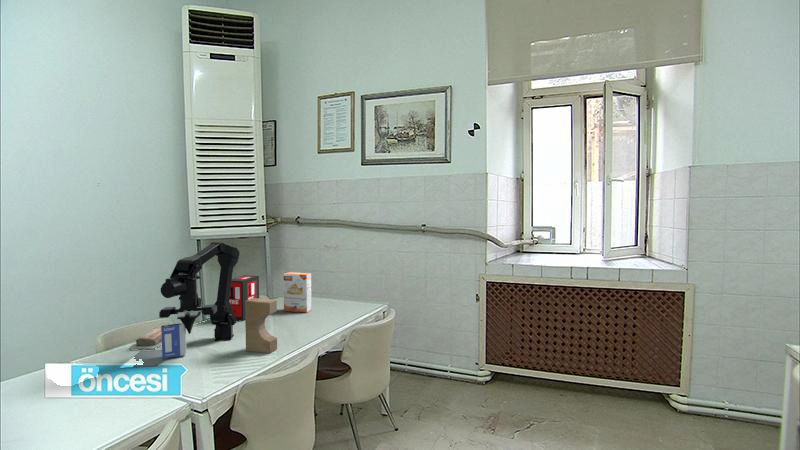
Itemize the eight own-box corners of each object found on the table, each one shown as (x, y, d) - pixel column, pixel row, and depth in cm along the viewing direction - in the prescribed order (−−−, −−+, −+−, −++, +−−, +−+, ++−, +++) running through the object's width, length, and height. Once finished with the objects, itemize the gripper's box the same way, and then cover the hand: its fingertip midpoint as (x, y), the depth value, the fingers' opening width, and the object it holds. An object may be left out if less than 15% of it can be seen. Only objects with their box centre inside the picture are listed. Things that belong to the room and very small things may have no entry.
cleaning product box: (243, 321, 199) (242, 281, 199) (226, 320, 201) (225, 280, 200) (259, 312, 216) (258, 275, 215) (243, 311, 217) (243, 275, 216)
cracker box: (283, 311, 218) (282, 273, 217) (289, 308, 224) (288, 271, 223) (306, 313, 214) (306, 274, 213) (311, 310, 220) (311, 272, 219)
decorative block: (277, 349, 159) (277, 299, 159) (269, 354, 154) (268, 302, 153) (254, 346, 163) (253, 297, 162) (245, 351, 157) (244, 300, 156)
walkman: (162, 358, 147) (161, 326, 147) (162, 356, 150) (161, 324, 149) (186, 354, 151) (185, 323, 151) (186, 352, 154) (185, 321, 153)
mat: (173, 350, 158) (173, 348, 158) (157, 366, 142) (157, 364, 142) (140, 352, 156) (140, 350, 156) (119, 368, 140) (119, 366, 140)
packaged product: (151, 326, 175) (175, 325, 177) (151, 337, 176) (175, 336, 177) (128, 339, 158) (155, 338, 159) (128, 351, 158) (155, 350, 159)
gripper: (220, 287, 160) (221, 325, 161) (169, 289, 157) (170, 329, 157) (212, 292, 149) (213, 334, 150) (157, 295, 146) (159, 337, 146)
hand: (189, 333), depth 151 cm, fingers closed
